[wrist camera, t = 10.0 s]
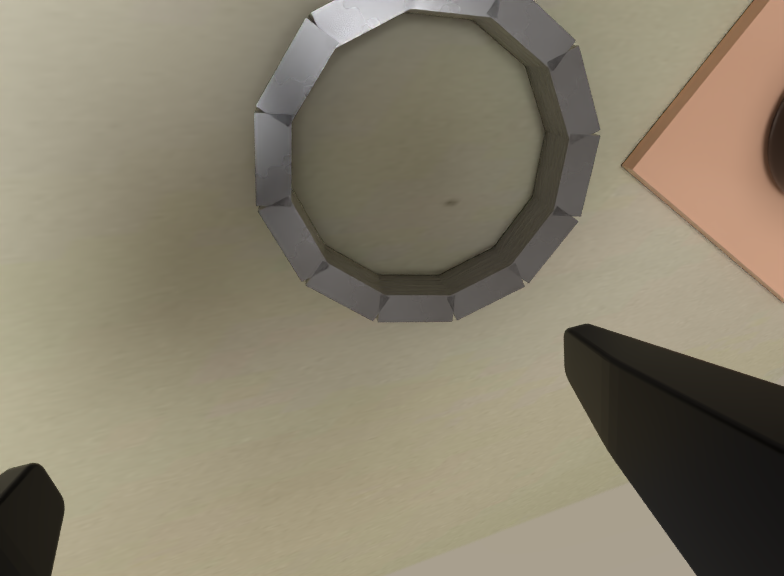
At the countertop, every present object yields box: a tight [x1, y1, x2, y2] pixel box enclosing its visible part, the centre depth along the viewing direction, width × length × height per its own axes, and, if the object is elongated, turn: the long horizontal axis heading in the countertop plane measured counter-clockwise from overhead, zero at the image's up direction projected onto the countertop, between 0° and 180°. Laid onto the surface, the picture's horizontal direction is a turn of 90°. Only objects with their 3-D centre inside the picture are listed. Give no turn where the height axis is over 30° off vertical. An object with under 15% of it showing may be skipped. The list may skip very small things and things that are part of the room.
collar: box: [254, 0, 600, 322], centre depth 20 cm, size 12×12×2 cm
